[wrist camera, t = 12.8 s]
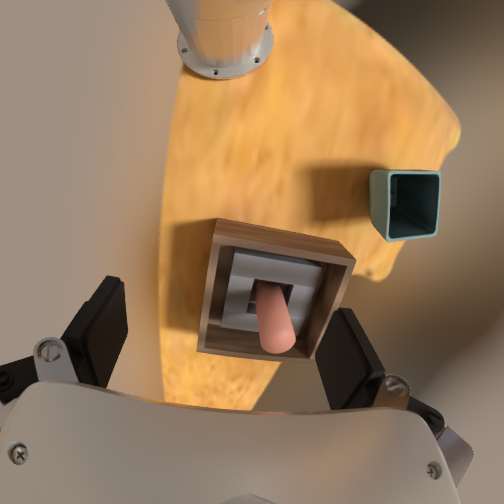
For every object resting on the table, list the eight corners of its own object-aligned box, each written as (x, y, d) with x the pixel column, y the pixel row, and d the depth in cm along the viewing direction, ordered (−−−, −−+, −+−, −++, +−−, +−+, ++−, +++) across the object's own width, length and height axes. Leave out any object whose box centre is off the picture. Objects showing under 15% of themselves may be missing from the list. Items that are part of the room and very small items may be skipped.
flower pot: (357, 222, 38) (385, 243, 30) (356, 163, 35) (387, 170, 27) (404, 217, 39) (437, 236, 30) (405, 163, 35) (441, 171, 27)
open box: (217, 218, 37) (213, 234, 31) (338, 241, 39) (356, 260, 33) (201, 323, 43) (196, 351, 37) (304, 336, 46) (313, 363, 39)
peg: (256, 274, 40) (264, 325, 28) (283, 278, 40) (300, 328, 29) (251, 297, 41) (256, 351, 30) (276, 301, 41) (289, 354, 30)
